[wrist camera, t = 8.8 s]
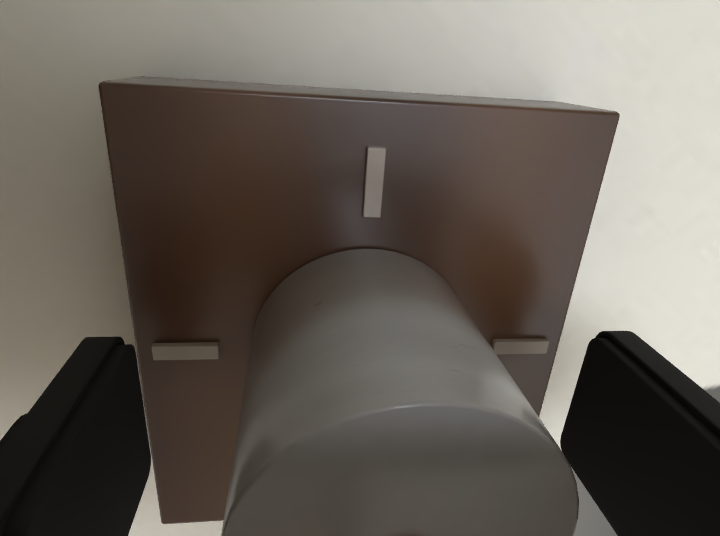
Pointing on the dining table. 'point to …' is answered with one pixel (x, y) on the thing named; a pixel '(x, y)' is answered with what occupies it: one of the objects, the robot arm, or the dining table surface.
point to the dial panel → (330, 230)
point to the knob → (386, 415)
